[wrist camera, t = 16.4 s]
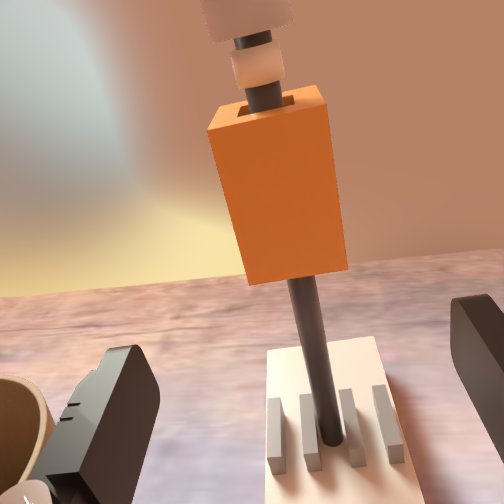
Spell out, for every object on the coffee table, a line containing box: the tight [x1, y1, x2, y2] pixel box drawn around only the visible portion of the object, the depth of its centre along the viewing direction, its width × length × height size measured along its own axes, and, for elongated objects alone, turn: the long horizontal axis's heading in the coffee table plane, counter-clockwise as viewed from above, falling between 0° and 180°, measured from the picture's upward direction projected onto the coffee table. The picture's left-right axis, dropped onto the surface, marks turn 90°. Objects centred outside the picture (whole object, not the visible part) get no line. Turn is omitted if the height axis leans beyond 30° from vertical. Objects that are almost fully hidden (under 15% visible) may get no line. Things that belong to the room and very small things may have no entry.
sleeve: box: [207, 85, 348, 286], centre depth 21 cm, size 5×5×8 cm
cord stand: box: [200, 0, 425, 504], centre depth 24 cm, size 10×20×37 cm, turn 177°
